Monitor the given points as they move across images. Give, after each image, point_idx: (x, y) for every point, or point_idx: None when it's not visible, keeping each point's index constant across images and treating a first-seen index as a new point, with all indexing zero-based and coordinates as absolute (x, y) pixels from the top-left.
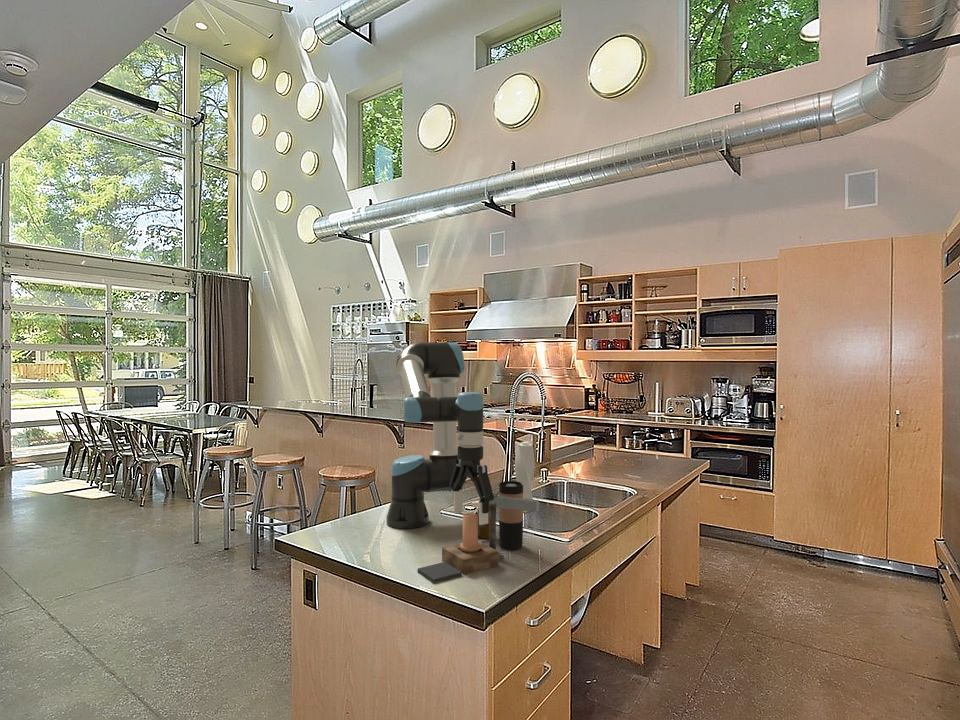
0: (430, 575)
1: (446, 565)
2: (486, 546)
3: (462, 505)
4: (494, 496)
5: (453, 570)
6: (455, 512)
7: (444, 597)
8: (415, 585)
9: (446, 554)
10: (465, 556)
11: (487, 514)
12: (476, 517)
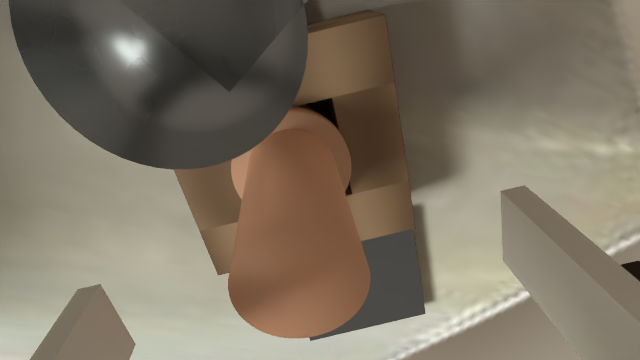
0: (388, 315)
1: None
2: None
3: (70, 334)
4: (214, 11)
5: (381, 238)
6: (131, 348)
7: None
8: (409, 348)
9: None
10: (377, 209)
11: (577, 239)
12: (358, 244)
